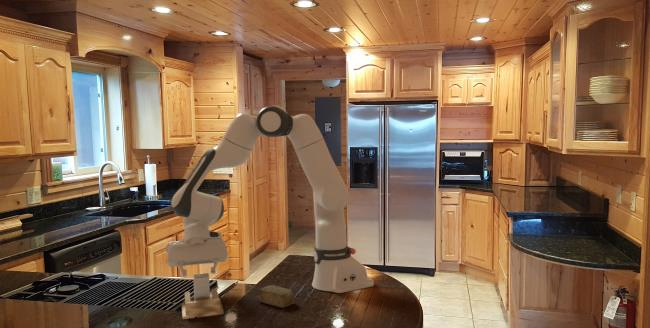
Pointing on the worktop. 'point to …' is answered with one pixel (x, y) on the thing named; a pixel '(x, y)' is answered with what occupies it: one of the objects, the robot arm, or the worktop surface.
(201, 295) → the block
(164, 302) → the worktop surface
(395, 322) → the worktop surface
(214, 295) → the cradle
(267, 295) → the stone block
